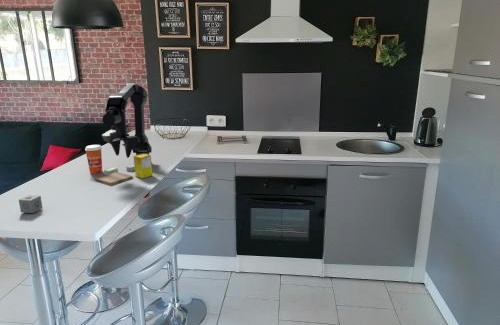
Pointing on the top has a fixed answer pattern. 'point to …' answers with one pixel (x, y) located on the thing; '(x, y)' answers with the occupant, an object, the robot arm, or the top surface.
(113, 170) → the sage brick
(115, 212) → the top surface
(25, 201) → the dice cube
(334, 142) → the top surface
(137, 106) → the robot arm
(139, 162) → the supplement box
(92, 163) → the paper cup
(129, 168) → the slate brick
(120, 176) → the walnut board
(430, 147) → the top surface
